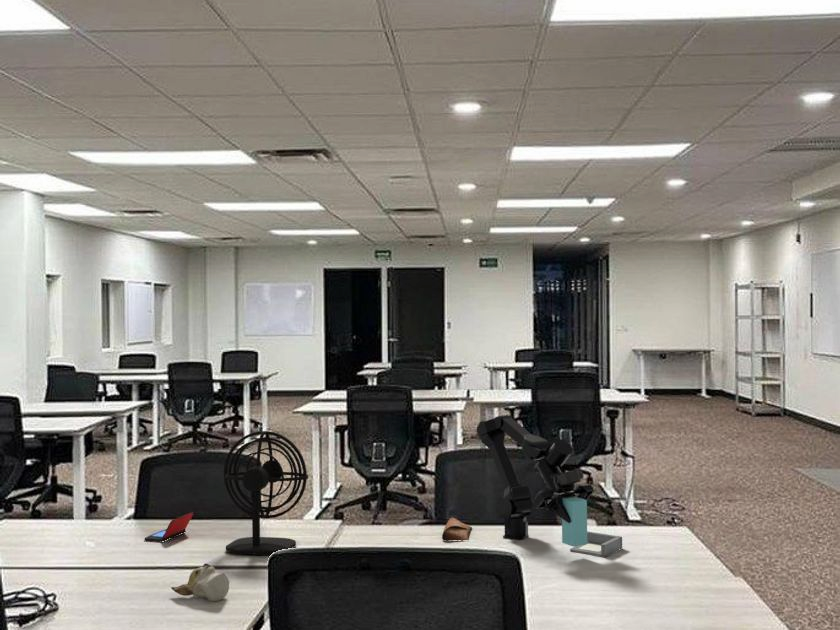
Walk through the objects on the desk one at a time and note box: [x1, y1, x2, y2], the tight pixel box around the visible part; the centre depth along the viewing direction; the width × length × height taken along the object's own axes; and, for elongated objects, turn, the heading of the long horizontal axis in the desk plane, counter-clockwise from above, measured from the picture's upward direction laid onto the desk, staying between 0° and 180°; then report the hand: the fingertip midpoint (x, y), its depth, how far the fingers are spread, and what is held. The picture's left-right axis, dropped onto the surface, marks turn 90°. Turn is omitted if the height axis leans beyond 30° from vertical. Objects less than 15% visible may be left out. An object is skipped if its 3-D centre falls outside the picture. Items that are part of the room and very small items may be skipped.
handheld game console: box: [144, 511, 194, 543], centre depth 273 cm, size 12×11×7 cm
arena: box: [569, 530, 623, 558], centre depth 251 cm, size 11×11×4 cm
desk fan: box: [223, 430, 309, 556], centre depth 258 cm, size 27×18×35 cm, turn 78°
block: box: [561, 497, 588, 548], centre depth 243 cm, size 5×5×12 cm
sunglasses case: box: [441, 517, 473, 541], centre depth 272 cm, size 18×7×7 cm
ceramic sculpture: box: [171, 563, 230, 602], centre depth 213 cm, size 11×9×15 cm
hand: (577, 521), depth 241 cm, fingers closed on block, 5 cm apart
